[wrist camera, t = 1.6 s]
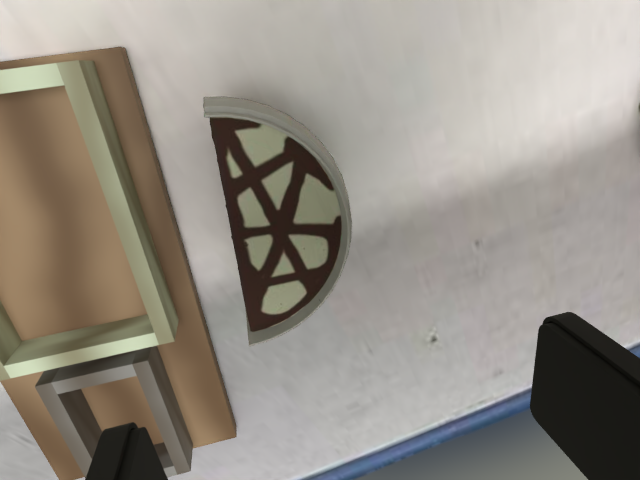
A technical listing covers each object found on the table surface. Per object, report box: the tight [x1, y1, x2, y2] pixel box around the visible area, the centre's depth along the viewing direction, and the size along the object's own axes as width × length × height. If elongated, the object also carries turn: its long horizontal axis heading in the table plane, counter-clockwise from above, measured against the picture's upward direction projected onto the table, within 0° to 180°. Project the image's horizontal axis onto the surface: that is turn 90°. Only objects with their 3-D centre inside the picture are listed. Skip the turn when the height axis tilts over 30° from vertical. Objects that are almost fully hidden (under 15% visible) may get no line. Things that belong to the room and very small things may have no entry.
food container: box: [203, 97, 352, 346], centre depth 23 cm, size 12×6×10 cm, turn 5°
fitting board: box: [0, 47, 236, 480], centre depth 26 cm, size 14×30×4 cm, turn 7°
